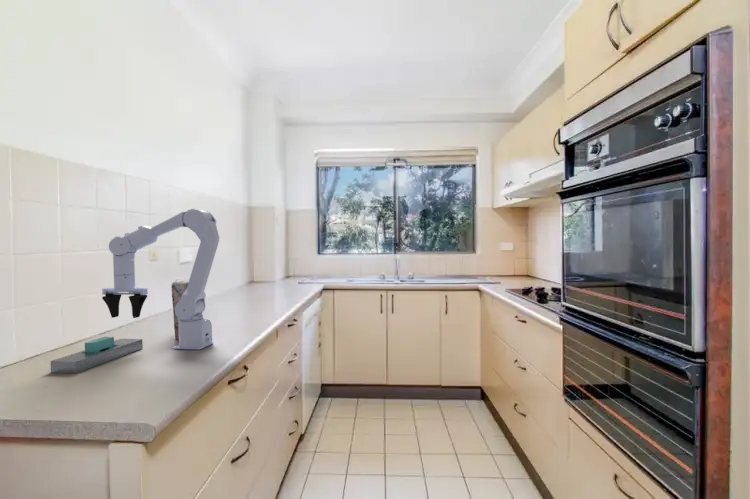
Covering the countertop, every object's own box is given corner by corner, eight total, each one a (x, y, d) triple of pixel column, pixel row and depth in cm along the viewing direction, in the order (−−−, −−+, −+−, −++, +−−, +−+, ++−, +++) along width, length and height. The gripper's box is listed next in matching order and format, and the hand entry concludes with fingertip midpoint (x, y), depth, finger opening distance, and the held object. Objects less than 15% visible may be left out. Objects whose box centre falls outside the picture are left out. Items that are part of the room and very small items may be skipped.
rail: (142, 348, 128) (142, 339, 128) (75, 373, 104) (75, 362, 104) (121, 347, 129) (121, 338, 129) (50, 372, 105) (50, 361, 105)
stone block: (195, 338, 141) (193, 281, 140) (172, 340, 138) (171, 282, 137) (194, 330, 153) (193, 278, 152) (174, 332, 150) (172, 279, 149)
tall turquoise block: (105, 353, 120) (104, 336, 120) (114, 353, 119) (113, 336, 119) (85, 360, 113) (84, 342, 113) (94, 360, 112) (94, 342, 112)
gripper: (93, 275, 125) (95, 319, 125) (135, 275, 123) (136, 320, 123) (111, 273, 132) (113, 315, 132) (151, 273, 130) (152, 315, 130)
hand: (125, 317), depth 128 cm, fingers open, 7 cm apart
